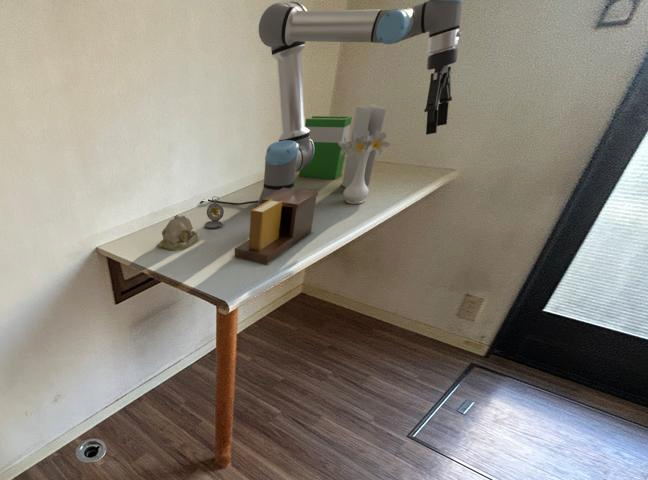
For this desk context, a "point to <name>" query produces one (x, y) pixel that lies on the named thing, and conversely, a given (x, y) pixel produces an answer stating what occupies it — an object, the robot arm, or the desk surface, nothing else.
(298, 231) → the step shelf
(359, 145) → the flower vase
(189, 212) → the desk surface
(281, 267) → the desk surface
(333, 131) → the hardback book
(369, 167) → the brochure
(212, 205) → the pocket watch
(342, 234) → the desk surface
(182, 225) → the ceramic model
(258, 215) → the ochre book
